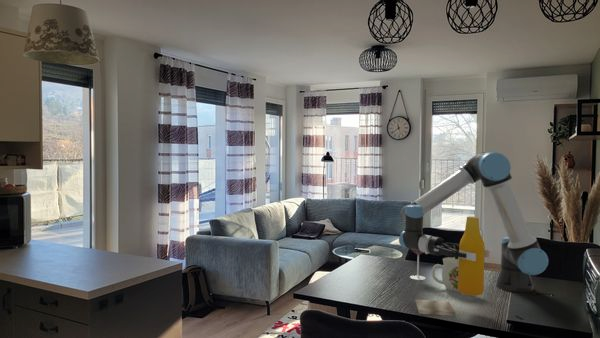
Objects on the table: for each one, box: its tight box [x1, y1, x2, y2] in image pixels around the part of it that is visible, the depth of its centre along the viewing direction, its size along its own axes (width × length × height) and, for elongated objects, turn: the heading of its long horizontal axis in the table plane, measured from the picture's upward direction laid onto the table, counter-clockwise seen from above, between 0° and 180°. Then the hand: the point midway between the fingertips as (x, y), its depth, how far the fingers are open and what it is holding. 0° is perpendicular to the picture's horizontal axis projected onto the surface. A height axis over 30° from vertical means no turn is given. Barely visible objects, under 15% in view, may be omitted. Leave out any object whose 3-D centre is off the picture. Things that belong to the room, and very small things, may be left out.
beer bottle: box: [458, 216, 486, 296], centre depth 166 cm, size 9×9×29 cm
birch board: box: [415, 298, 456, 317], centre depth 167 cm, size 13×12×2 cm
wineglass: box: [409, 250, 426, 281], centre depth 211 cm, size 8×9×20 cm
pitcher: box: [431, 256, 459, 292], centre depth 193 cm, size 11×18×14 cm, turn 86°
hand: (482, 255), depth 162 cm, fingers closed on beer bottle, 9 cm apart
